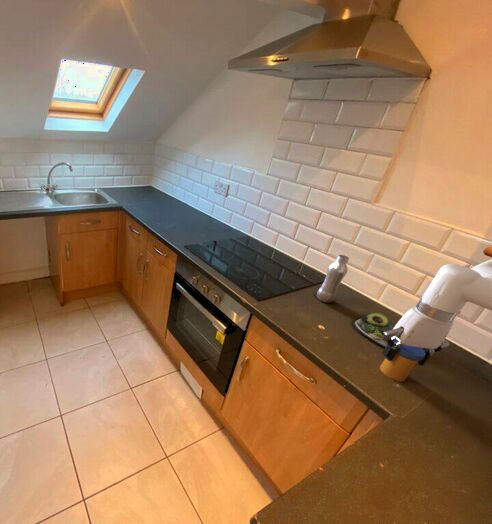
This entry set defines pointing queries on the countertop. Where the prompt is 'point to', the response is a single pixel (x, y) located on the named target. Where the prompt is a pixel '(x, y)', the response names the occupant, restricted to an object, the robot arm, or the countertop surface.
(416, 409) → the countertop surface
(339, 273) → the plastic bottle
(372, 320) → the salad plate
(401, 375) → the jar
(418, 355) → the lid
